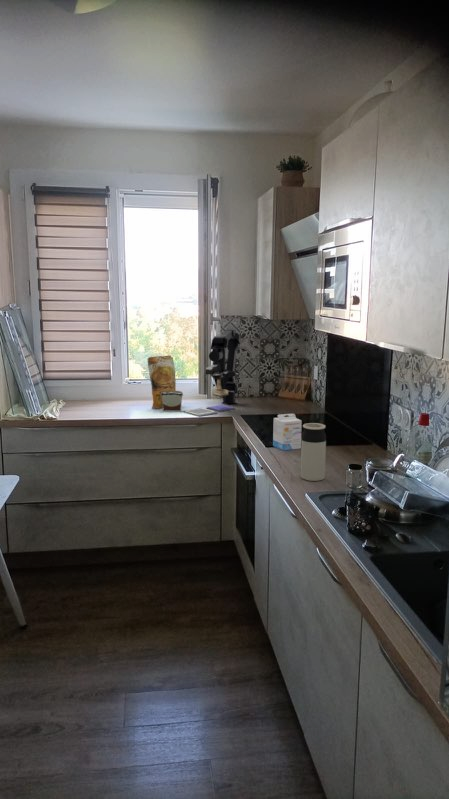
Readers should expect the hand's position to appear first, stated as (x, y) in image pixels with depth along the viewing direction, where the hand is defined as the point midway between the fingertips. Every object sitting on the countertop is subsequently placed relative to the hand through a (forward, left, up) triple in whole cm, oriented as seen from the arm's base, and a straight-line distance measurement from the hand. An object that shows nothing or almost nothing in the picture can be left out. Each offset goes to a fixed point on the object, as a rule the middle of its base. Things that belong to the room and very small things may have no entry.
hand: (220, 388), depth 294 cm
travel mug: (+49, +108, -11) cm, 119 cm away
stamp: (0, 0, -4) cm, 4 cm away
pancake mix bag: (+19, -27, -12) cm, 35 cm away
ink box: (+28, +76, -12) cm, 82 cm away
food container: (+20, -16, -12) cm, 28 cm away
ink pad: (0, 0, -11) cm, 11 cm away
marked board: (+14, 0, -11) cm, 18 cm away
